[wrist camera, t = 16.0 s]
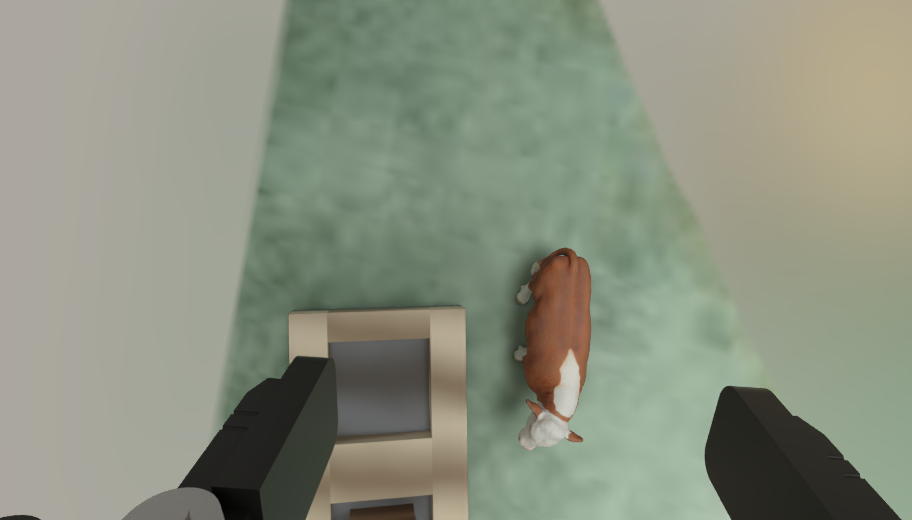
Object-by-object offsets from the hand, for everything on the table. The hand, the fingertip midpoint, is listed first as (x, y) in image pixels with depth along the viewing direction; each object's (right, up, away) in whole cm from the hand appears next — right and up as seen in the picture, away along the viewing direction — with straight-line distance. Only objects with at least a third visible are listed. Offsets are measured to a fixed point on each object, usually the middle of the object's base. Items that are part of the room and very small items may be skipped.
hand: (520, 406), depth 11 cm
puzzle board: (-7, -11, +27) cm, 30 cm away
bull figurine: (+4, -3, +29) cm, 29 cm away
